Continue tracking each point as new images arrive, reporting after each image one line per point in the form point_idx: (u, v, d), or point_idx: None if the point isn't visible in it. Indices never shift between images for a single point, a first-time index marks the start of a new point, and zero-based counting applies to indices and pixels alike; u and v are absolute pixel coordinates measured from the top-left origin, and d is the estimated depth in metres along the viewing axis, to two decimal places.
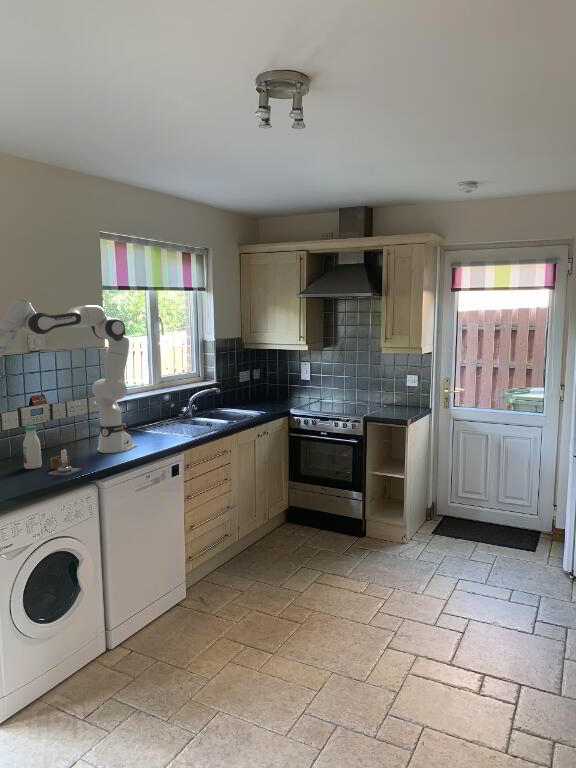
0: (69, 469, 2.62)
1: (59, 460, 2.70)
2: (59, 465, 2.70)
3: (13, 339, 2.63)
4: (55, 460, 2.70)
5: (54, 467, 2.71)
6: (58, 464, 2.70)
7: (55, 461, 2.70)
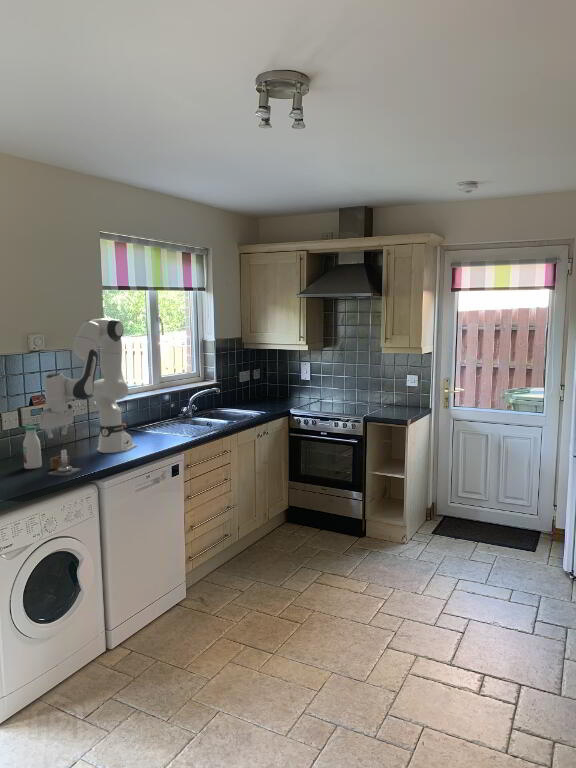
0: (69, 469, 2.62)
1: (59, 460, 2.70)
2: (59, 465, 2.70)
3: (43, 419, 2.62)
4: (55, 460, 2.70)
5: (54, 467, 2.71)
6: (58, 464, 2.70)
7: (55, 461, 2.70)
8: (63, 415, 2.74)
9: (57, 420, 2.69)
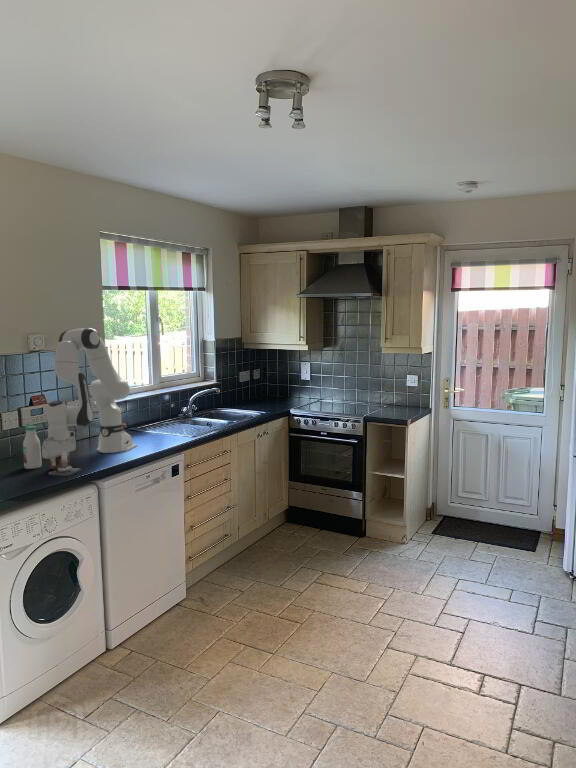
0: (69, 469, 2.62)
1: (59, 460, 2.70)
2: (59, 465, 2.70)
3: (46, 448, 2.63)
4: (55, 460, 2.70)
5: (54, 467, 2.71)
6: (58, 464, 2.70)
7: None
8: (65, 443, 2.75)
9: (59, 448, 2.70)
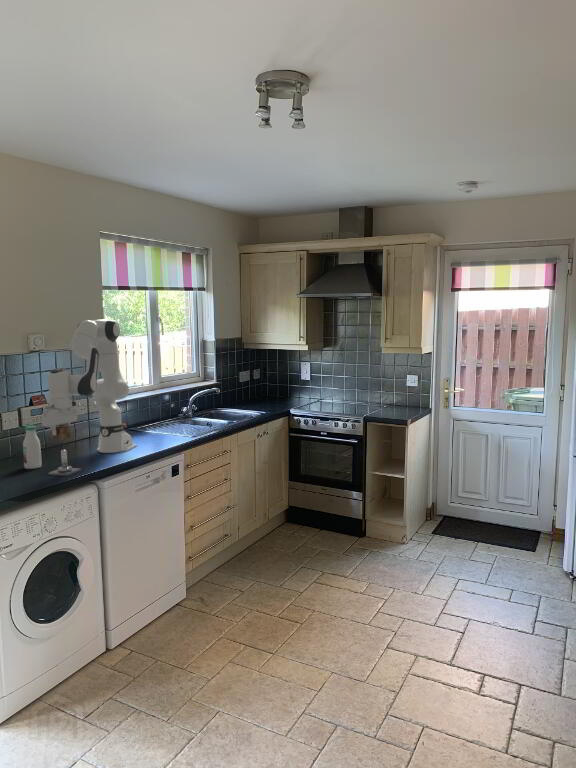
0: (69, 469, 2.62)
1: (60, 429, 2.59)
2: (59, 435, 2.60)
3: (46, 416, 2.53)
4: None
5: (54, 437, 2.61)
6: (58, 434, 2.60)
7: None
8: (67, 412, 2.65)
9: (60, 417, 2.60)
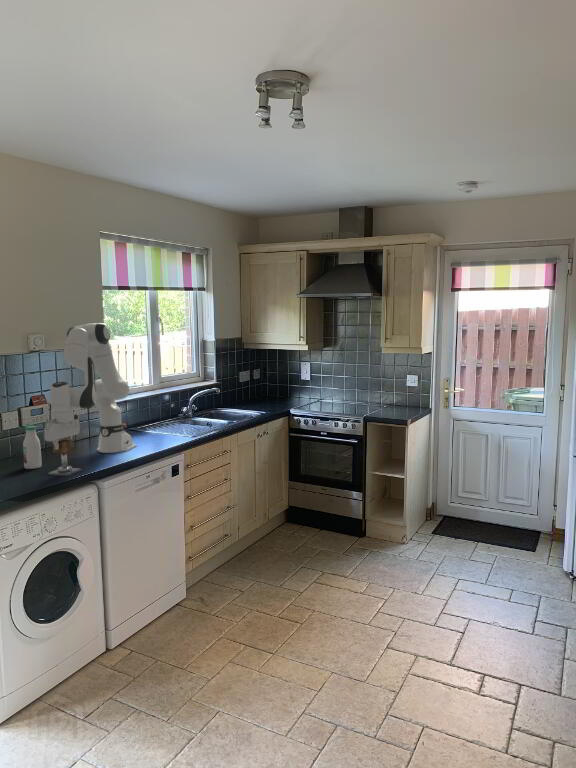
0: (69, 469, 2.62)
1: (62, 443, 2.58)
2: (62, 449, 2.59)
3: (48, 431, 2.52)
4: (58, 443, 2.59)
5: (57, 451, 2.60)
6: (61, 448, 2.59)
7: None
8: (69, 426, 2.64)
9: (62, 431, 2.59)
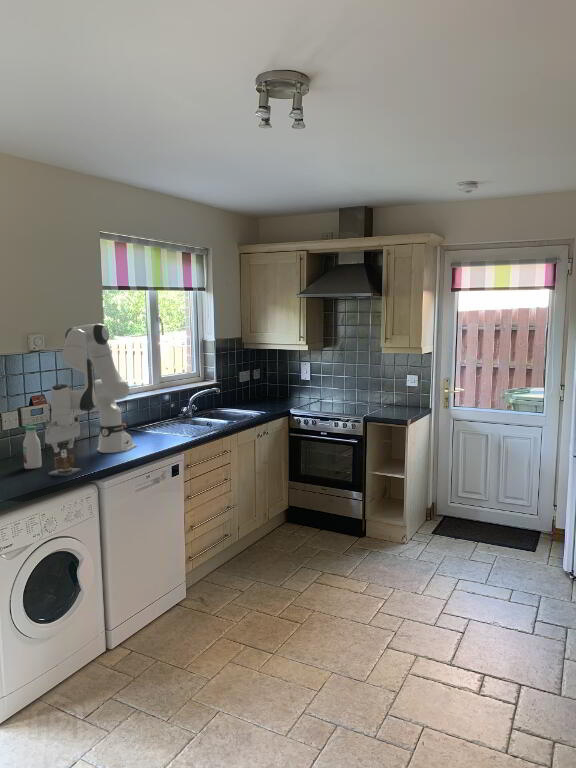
0: (69, 469, 2.62)
1: (63, 459, 2.59)
2: (63, 465, 2.60)
3: (49, 434, 2.52)
4: (59, 459, 2.60)
5: (58, 467, 2.60)
6: (62, 464, 2.60)
7: (59, 460, 2.60)
8: (69, 428, 2.64)
9: (63, 433, 2.59)
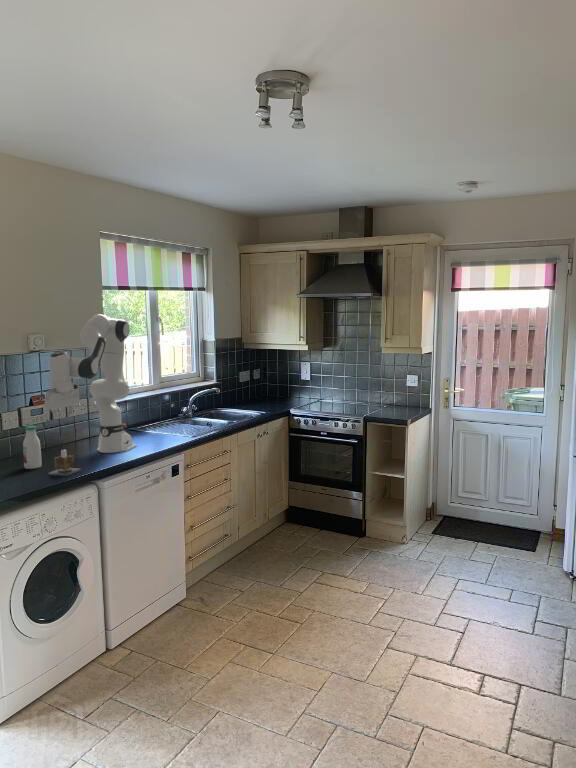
0: (69, 469, 2.62)
1: (63, 459, 2.59)
2: (63, 465, 2.60)
3: (49, 400, 2.54)
4: (59, 459, 2.60)
5: (58, 467, 2.60)
6: (62, 464, 2.60)
7: (59, 460, 2.60)
8: (69, 395, 2.65)
9: (62, 400, 2.61)
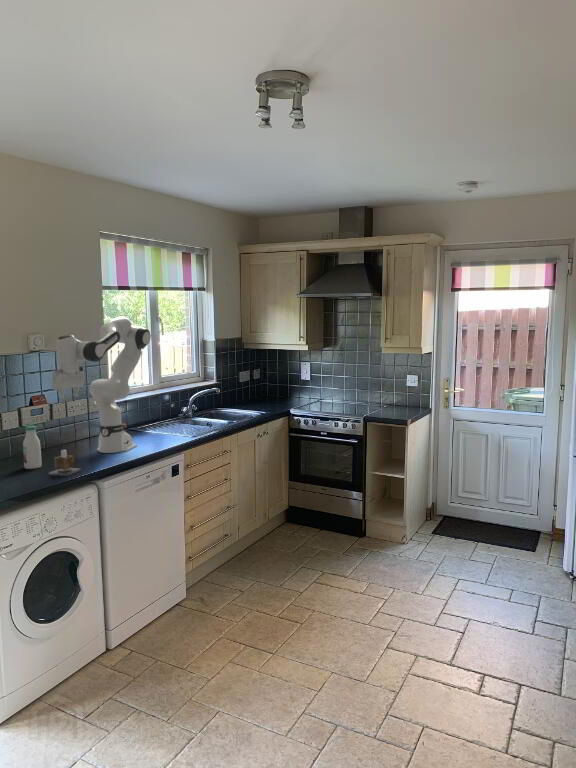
0: (69, 469, 2.62)
1: (63, 459, 2.59)
2: (63, 465, 2.60)
3: (55, 380, 2.66)
4: (59, 459, 2.60)
5: (58, 467, 2.60)
6: (62, 464, 2.60)
7: (59, 460, 2.60)
8: (74, 377, 2.78)
9: (68, 381, 2.73)
